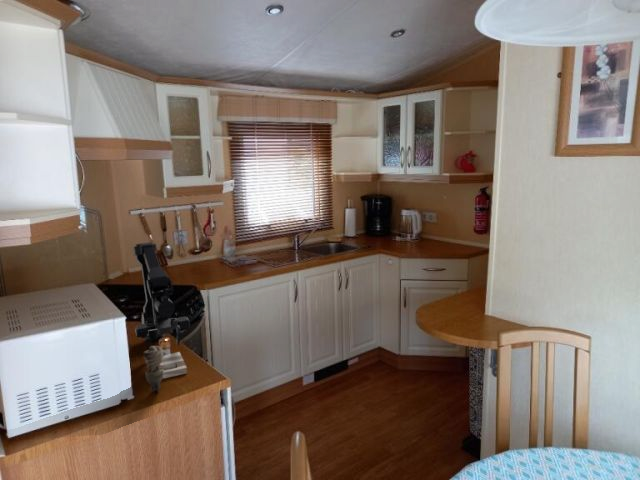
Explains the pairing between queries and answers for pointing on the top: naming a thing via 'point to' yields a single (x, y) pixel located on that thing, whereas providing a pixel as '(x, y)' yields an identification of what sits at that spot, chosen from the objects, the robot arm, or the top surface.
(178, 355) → the white block
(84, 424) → the top surface
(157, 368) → the grey stone figurine
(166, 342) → the brown round tapered piece
